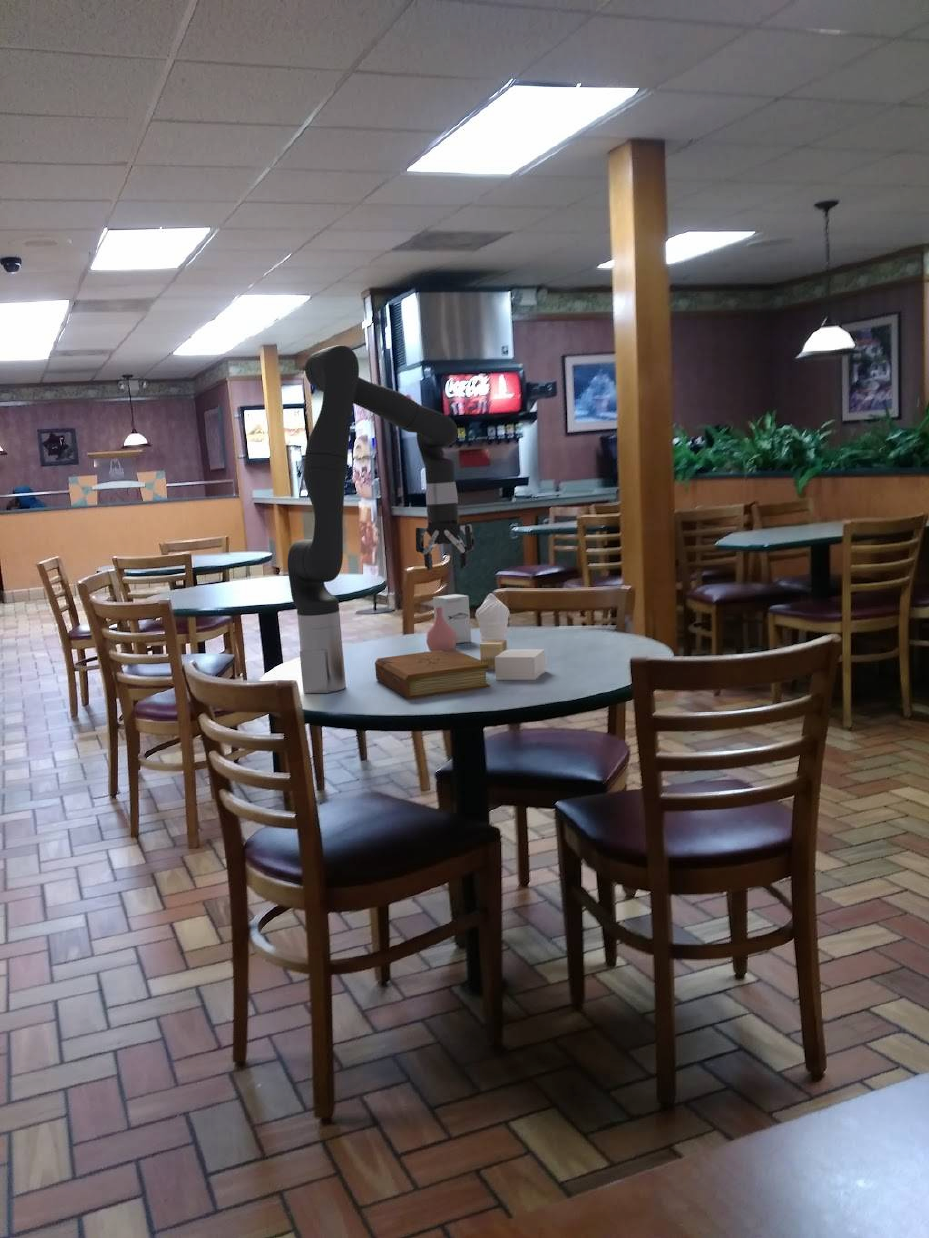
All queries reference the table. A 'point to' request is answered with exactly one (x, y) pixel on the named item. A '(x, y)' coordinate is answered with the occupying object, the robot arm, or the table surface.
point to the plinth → (520, 664)
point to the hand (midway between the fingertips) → (446, 568)
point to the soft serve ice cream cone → (492, 619)
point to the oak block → (492, 651)
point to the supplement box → (455, 614)
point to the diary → (431, 673)
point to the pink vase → (440, 634)
